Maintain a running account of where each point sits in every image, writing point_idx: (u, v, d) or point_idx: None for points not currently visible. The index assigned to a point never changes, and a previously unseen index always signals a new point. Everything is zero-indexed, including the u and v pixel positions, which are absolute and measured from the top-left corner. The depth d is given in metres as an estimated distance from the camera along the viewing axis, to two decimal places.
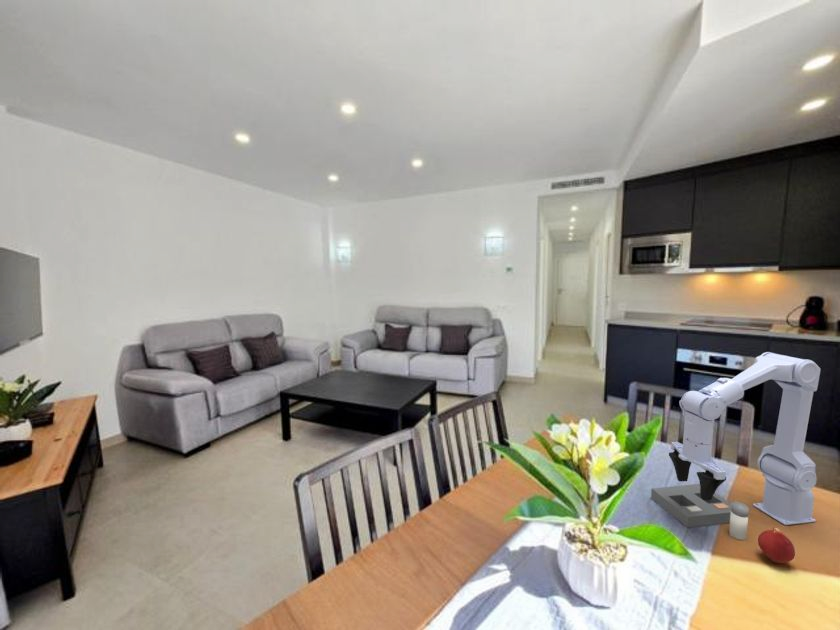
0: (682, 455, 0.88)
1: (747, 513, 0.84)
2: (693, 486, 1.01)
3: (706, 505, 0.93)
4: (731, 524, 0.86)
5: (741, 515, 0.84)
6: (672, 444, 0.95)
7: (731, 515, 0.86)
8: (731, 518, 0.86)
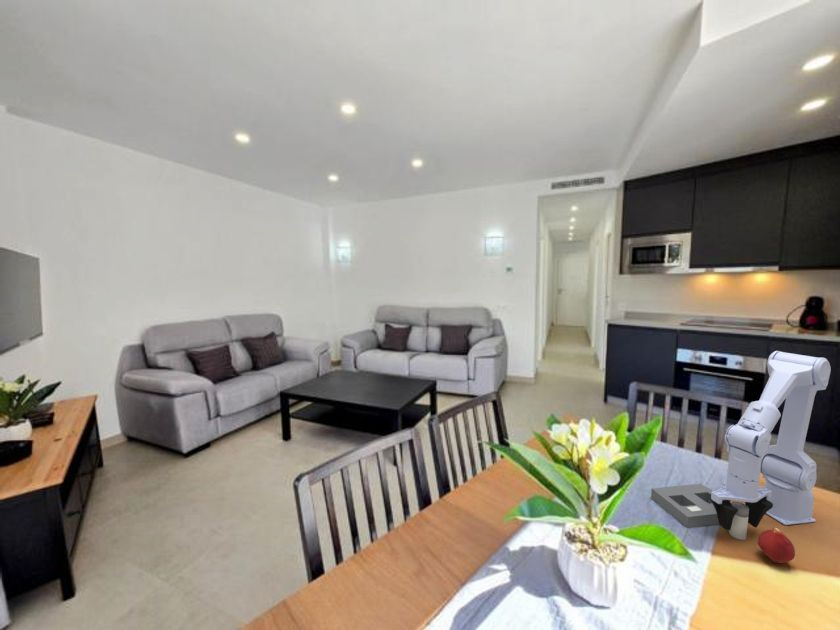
0: None
1: (747, 513, 0.84)
2: (693, 486, 1.01)
3: (706, 505, 0.93)
4: None
5: (741, 515, 0.84)
6: None
7: None
8: None
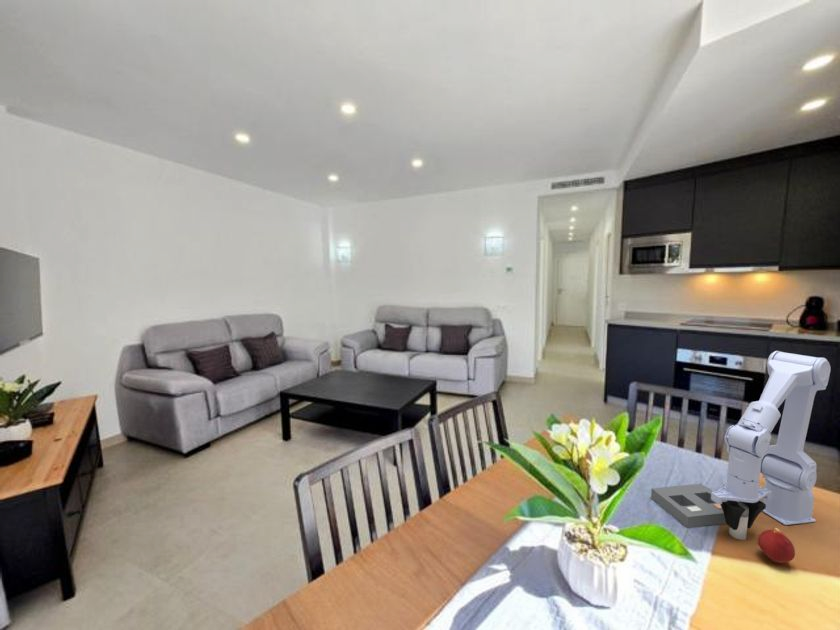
0: None
1: (747, 513, 0.84)
2: (693, 486, 1.01)
3: (706, 505, 0.93)
4: None
5: (741, 515, 0.84)
6: None
7: None
8: None
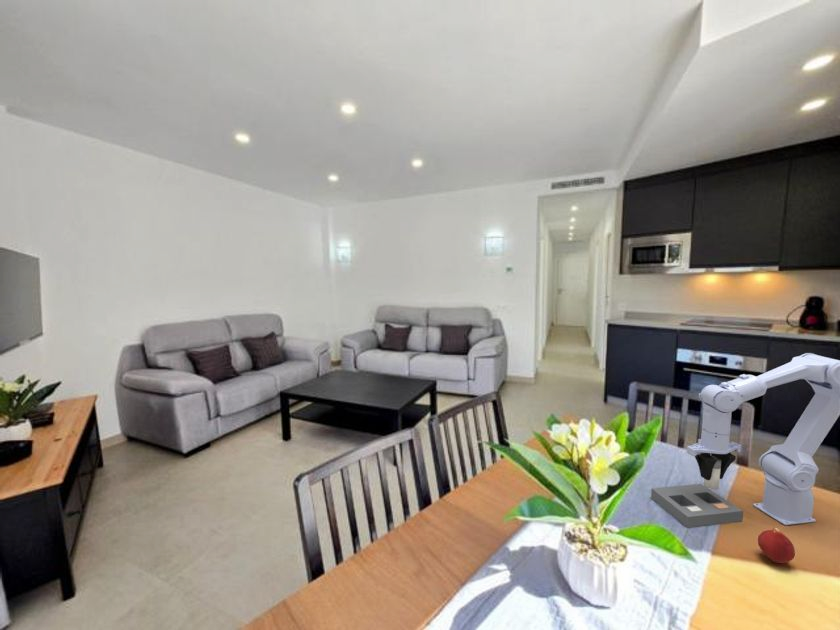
0: None
1: (719, 465, 0.93)
2: (693, 486, 1.01)
3: (706, 505, 0.93)
4: None
5: (714, 467, 0.93)
6: None
7: None
8: None
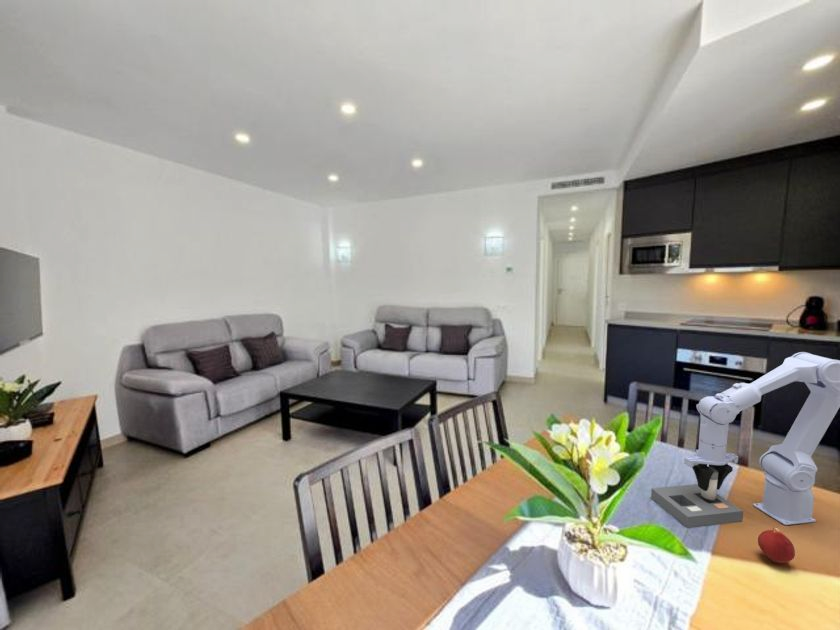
0: None
1: (716, 476, 0.94)
2: (693, 486, 1.01)
3: (706, 505, 0.93)
4: None
5: (711, 478, 0.94)
6: None
7: None
8: None
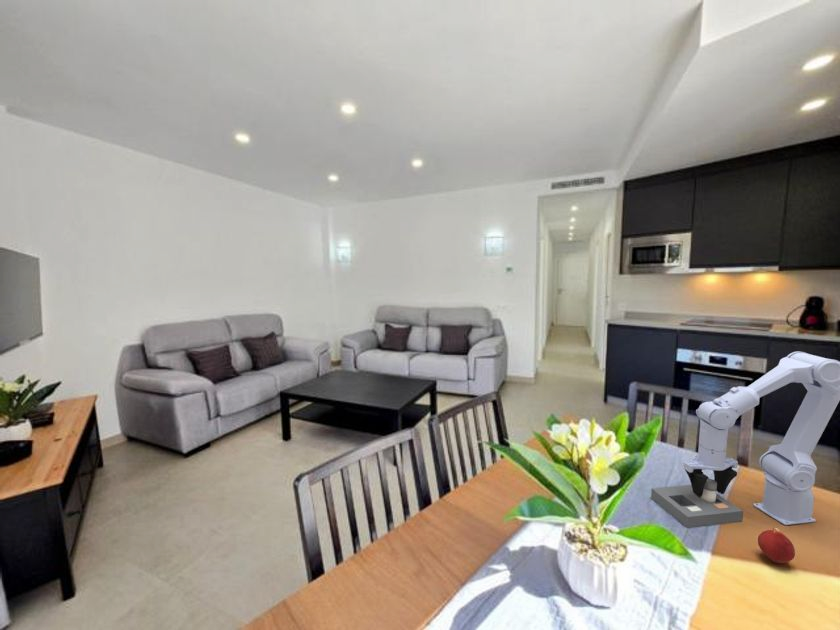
0: None
1: (715, 487, 0.94)
2: None
3: (706, 505, 0.93)
4: (701, 498, 0.96)
5: (710, 489, 0.94)
6: None
7: None
8: None
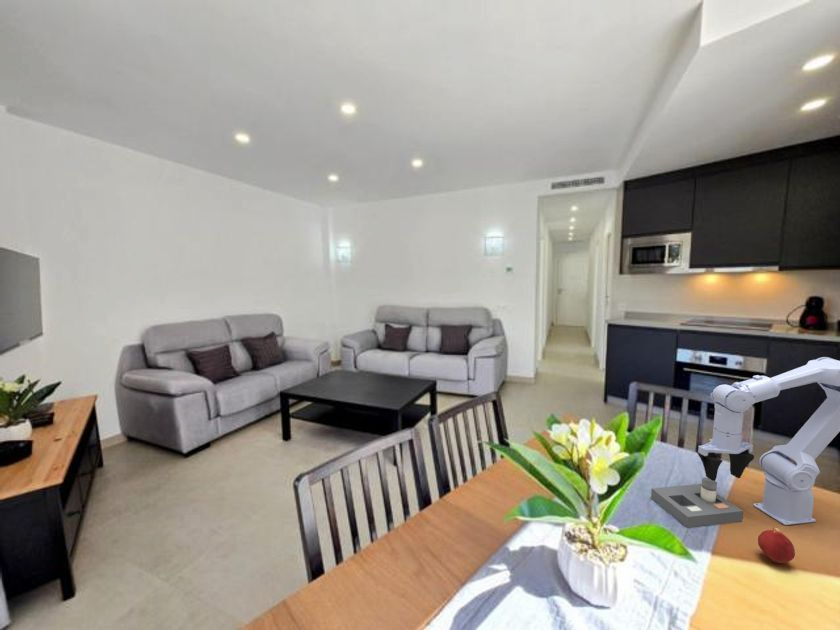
0: None
1: (715, 487, 0.94)
2: (693, 486, 1.01)
3: (706, 505, 0.93)
4: (701, 498, 0.96)
5: (710, 489, 0.94)
6: None
7: (701, 490, 0.96)
8: (701, 493, 0.97)
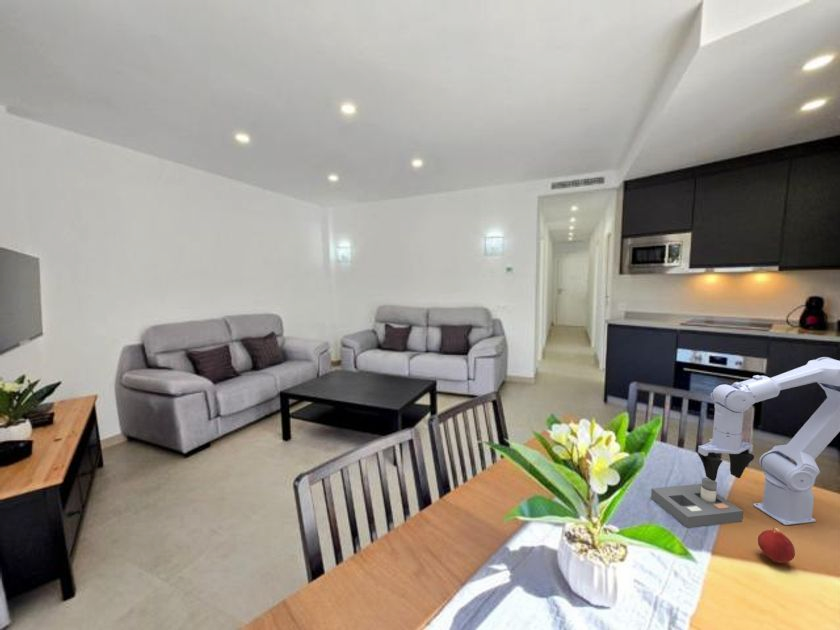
0: None
1: (715, 487, 0.94)
2: (693, 486, 1.01)
3: (706, 505, 0.93)
4: (701, 498, 0.96)
5: (710, 489, 0.94)
6: None
7: (701, 490, 0.96)
8: (701, 493, 0.96)
